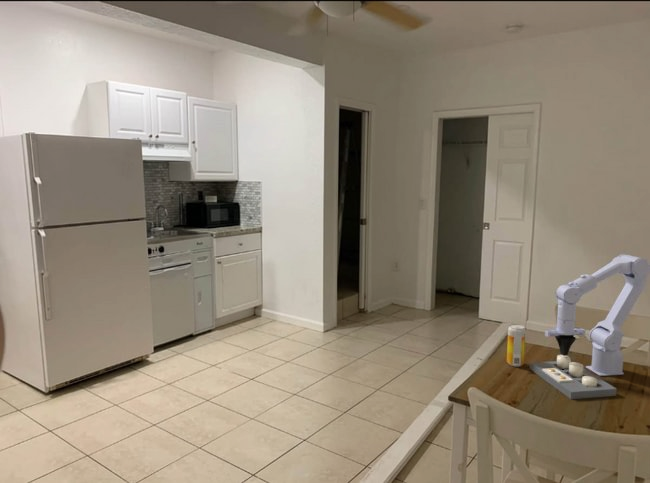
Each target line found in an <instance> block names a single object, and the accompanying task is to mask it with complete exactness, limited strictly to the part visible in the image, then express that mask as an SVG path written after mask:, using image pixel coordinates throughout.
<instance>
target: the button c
mask: <svg viewBox="0 0 650 483" xmlns="http://www.w3.org/2000/svg"><path fill="white" fill-rule="evenodd" d="M582 384H583V385H585V386H586V387H597V379H596V378H594V377H591V376H583V377H582Z"/></svg>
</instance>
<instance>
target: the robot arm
mask: <svg viewBox="0 0 650 483" xmlns="http://www.w3.org/2000/svg"><path fill="white" fill-rule="evenodd" d="M617 274H621V275H622V276H623V277H624V280H625V284H624V286H623V288H622V290H621V292H620V293H619V294H618V296H617V298H616V300H615V302H614V303H613V305H612V307H611V309H610V310H609V312H608V314H607V316H606V318H605V319H603V320H602V321H598V322H597V324H596V326H594V327H593V328H591V330H590V331H589V334H588V336H589V340H590V341H591V342H592V343H591V345H592V355H591V365H586V366H585V368H586V369H588V370H589V371H591V372H593V373H595V374H596V375H598V376H600V377H604V376H619V375H625V374H624V371H623V365H624V355H623V351H622V349H621V346H622V339H623V338H624V333H623V330H622V327H623V325H624V324H625V322H626V321H627V320H626V319H627V318H628V316H629V315H630V313H631V311H632V310H633V308H634V306H635V305H636V304H637V301H638V299H639V297H640V296H641V294H642V292H643V291H644V289H645V287H646V285H647V280H648V276H649V274H650V263H649V261H648V259H646V258H644V257H638V256H634V255H630V254H628V253H622V254H619V255H618V256H616V257H614V258H612V260H611V262H609V263H608V264H606V265H604V266H603V267H601V268H600V269H598V270H597V271H595V272H594V273H592V274H587V273H586V274H581V275H579V277H578V278H576V279H574V280H573V281H569V282H568V284H562V285H559V287H558V288H557V289H556V291H555V292H554V295H555V297H556V299H557V314H556V315H557V316H556V317H557V318H556V319H557V320H556V328H552V329H547V330H544V336H545V337H547V338H551V337H555V340H556V342H557V344H558V347H559V352H560V355H563V356H569V355H568V354H569V351H570V349H571V347H572V346H573V343H575V342H576V340H577V339H576V338H577V337H576V336H586V333H587V332H586V329H584V328H576V327H575V326H576V325H575V324H576V311H577V310H576V309H577V303H578V302H580V300H581V298H582V297H583V296H584V295H585V294H588V293H589V292H591V291H593V290H595V289H596V288H597V286H598V284H599V283H601V282H602V281H605V280H608V279H610V278H611V277H613V276H615V275H617Z"/></svg>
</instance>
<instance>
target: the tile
mask: <svg viewBox="0 0 650 483" xmlns="http://www.w3.org/2000/svg"><path fill="white" fill-rule="evenodd" d="M542 371H544V372H545V373H546V374H548V375H549V376H551V377H552V378H554V379H555V380H556V381H558V382H559V383H560V382H573V379H571V378H570V377H568V376H567V375H565V374H564V373H562V372H561V371H559V370H558V369H556V368H547V369H542Z"/></svg>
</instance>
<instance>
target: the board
mask: <svg viewBox="0 0 650 483" xmlns="http://www.w3.org/2000/svg"><path fill="white" fill-rule="evenodd" d="M571 362H573V361H570V363H571ZM547 368H556V369H558V370H559V371H561V372H562V373H564V374H565V375H567V376H568V377H570V378H571V379H573V382H560V383H559V382H558V381H556V380H555V379H554V378H552V377H551V376H549V375H548V374H546V373H545V372H544V371H542V369H547ZM530 369H531V371H532V372H533V373H534V374H536V375H537V376H539V377H540V378H541V379H543V380H544V381H546V382H547V383H548V384H550V385H551V386H552V387H554V388H555V389H557V390H558V391H559V392H561V393H562V394H563V395H565V396H566V397H567V398H569V399H570V400H576V399H577V400H579V399H589V398H600V397H601V398H603V397H615V396H617V390H618V389H617V387H615V386H613V385H611V384H610V383H608V382H606V381H605V380H603V379H601V378H600V377H598V376H597V375H595V374H593V373H591V372H590V371H588V370H586V369H585V368H583V376H591V377H594V378H596V379H597V387H586V386H585V385H583V384H582V377H581V378H576V377H572V376H570V375H569V369H567V370H565V369H564V370H562V369H560V368H558V367H557V360H555V361H539V362H538V361H537V362H529V370H530Z"/></svg>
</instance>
